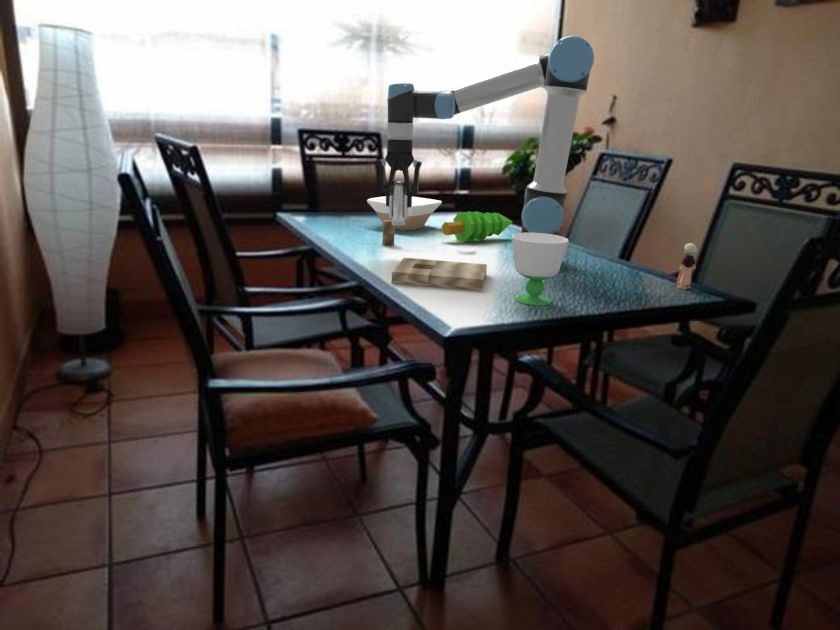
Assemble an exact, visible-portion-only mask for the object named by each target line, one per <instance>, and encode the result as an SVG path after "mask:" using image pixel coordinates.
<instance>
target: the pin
mask: <svg viewBox="0 0 840 630" xmlns="http://www.w3.org/2000/svg"><path fill="white" fill-rule="evenodd" d="M392 184H393V187H392V192H391V193H392V194H391V195H392V225H396V226H403V225H405V219H404V198H405V197H406V196H407V192H406V187H405V181H404V180H394V181H393V182H392Z"/></svg>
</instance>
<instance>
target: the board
mask: <svg viewBox="0 0 840 630" xmlns="http://www.w3.org/2000/svg"><path fill="white" fill-rule="evenodd" d="M487 266H488V264H485V263H475V262H464V261H463V262H462V261H461V262H460V261H450V260H449V261H448V260H439V259H438V260H436V259H425V258H412V257H402V259H401V260H400V261H399V262H398V264H397V265H396V266H395V267H394V268H393V269H392V271H391V281H390V282H391V283H392V284H399V285H400V284H401V285H402V284H403V285H410V286H411V285H413V286H424V287H434V288H435V287H436V288H444V289H445V288H447V289H456V290H457V289H458V290H467V291H468V290H470V291H479V292H480V291H482V292H483V290H484V284H485V281H486V278H487V277H486V276H487V270H488V269H487V268H488V267H487Z"/></svg>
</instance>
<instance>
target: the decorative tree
mask: <svg viewBox="0 0 840 630" xmlns="http://www.w3.org/2000/svg"><path fill="white" fill-rule="evenodd" d="M513 222H514V221H512V220H511V219H510V218H507V217H506V216H504V215H502V214H500V213H498V212H492V213H491V212H487V211H486V212H485V213H483V212H480V211H474V212H473V211H469V210H468V211H467V212H461V211H458V212H457V213H456V215H455V217H453V221H447V222H446V221H445V222H443V224H441V231H442V233H443V235H444V236H451V235H454V236H455V239H456V241H458V242H462V243H465V242H467V241H470V242H474V241H475V240H476V241H479V242H483V241H484V240H485V239H486V238H487V237H492V236H493V235H495V236H500V235H501V234H502V233H503V232H504V231H505V230H506V229H507V228H508V227H509V226H510V225H511V224H512V223H513Z"/></svg>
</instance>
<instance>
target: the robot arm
mask: <svg viewBox="0 0 840 630" xmlns="http://www.w3.org/2000/svg"><path fill="white" fill-rule="evenodd" d="M536 56H537V55H536ZM594 61H595V53H594V50H593V48H592V45H591V44H590V43H589V42H588V40H586V39H585V38H584V37H582V36H578V35H567V36H564V37H561V38H560V39H558V40H557V41H555V42H554V44H553V45H552V47H551V48H550V51H548V52H546V53H543V54H539V55H538V56H537V57H536V58H535V60H533V61H530V62H527V63H525V64H521V65H519V66H515V67H513V68H510V69H507V70H504V71H501V72H498V73H495V74H492V75H489V76H486V77H482V78H481V79H478V80H475V81H472V82H468V83H466V84H463V85H459V86H457V87H456V86H455V87H453V88H451V89H447V90H438V91H437V90H436V91H435V90H430V91H429V90H421V91H420V90H415V87H414V85H415V84H413V83H410V82H408V83H407V82H392V83H390V84H389V85H388V91H387V127H386V128H387V129H386V130H387V132H386V136H387V138H388V139H387V141H386V143H387V144H386V154H385V158H381V159H378V160H377V162H376V164H377V166H378V170H379V175H378V177H379V193H380V194H383V195H385V196H386V206H389V218H392V188H393V184H392V182H393V181H395V177H396V173H397V171H400V172H402V174H403V181H405V187H406V197H405V198H404V219H407V218H408V207H411V206H412V197H415V196H416V195H418V194H419V184H420V169H421V167H422V164H423V162H422V161H420V160H417V159H415V158H414V156H413V143H414V140H412V139H411V138H413V137H414V136H413V134H414V119H415V118H416V119H434V120H436V119H438V120H448V119H449V120H450V119H453V118H454V116H455V115H458V114H461V113H464V112H467V111H470V110H473V109H477V108H481V107H482V106H486V105H489V104H492V103H495V102H498V101H502V100H504V99H508V98H511V97H514V96H517V95H521V94H524V93H526V92H529V91H532V90H535V89H538V88H542V89H545V91H546V92H547V101H546V105H545V113H544V116H543V123H542V128H541V129H542V130H541V134H540V142H539V145H538V146H539V147H538V152H537V158H536V162H535V168H534V169H535V170H534V176H533V180H532V181H531V182H530V183H529V184H527V186H526V188H525V193H524V194H523V195H524V200H523V201H524V202H523V208H522V210H521V222H522V223H521V232H520V233H545V234H552V235H557V236H559V234H560V233H559V232H560V228H561V226H562V225H563V222H564V221H565V220H564V219H565V215H564V213H565V212H564V211H565V206H566V201H567V194H568V190H567V189H566V187H565V186H564V183H565V178H566V171H567V165H568V161H569V155H570V152H571V145H572V140H573V135H574V128H575V123H576V118H577V113H578V108H579V107H578V106H579V103H580V98H581V97H582V96H583V95H585V94H586V93H587V89H588V86H589V79H590V75H591V70H592V68H593V65H594ZM412 164H413V168H414V169H413V170H414V171H413V172H414V173H413V184H412V185H413V187H412V186H411V179H410V173H409V168H410V166H411V165H412ZM386 165H388V166H389V168H390V170H389V175H388V176H389V178H388V181H387V186H386V169H385V167H386ZM513 259H514V256H513Z"/></svg>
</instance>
